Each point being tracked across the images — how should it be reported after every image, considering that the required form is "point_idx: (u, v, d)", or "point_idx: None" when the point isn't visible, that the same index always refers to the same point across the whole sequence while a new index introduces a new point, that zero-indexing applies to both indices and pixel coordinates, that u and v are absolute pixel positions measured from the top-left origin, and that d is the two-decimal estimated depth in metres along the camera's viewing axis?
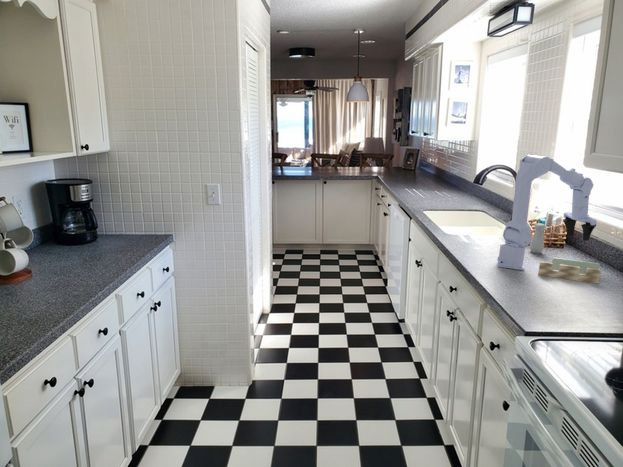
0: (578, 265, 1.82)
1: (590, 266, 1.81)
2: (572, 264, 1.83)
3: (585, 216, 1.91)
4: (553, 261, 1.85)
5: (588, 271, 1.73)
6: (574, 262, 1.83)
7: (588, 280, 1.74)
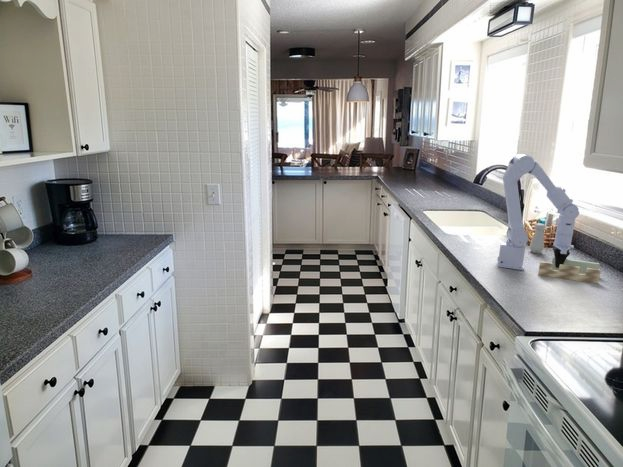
0: (578, 265, 1.82)
1: (590, 266, 1.81)
2: (572, 264, 1.83)
3: (563, 245, 1.81)
4: (553, 261, 1.85)
5: (588, 271, 1.73)
6: (574, 262, 1.83)
7: (588, 280, 1.74)
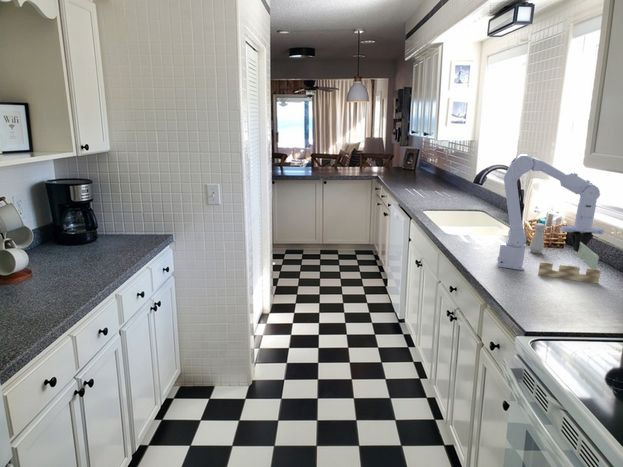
0: (585, 253, 1.73)
1: (590, 256, 1.69)
2: (583, 250, 1.75)
3: (575, 226, 1.77)
4: None
5: (588, 271, 1.73)
6: (584, 249, 1.74)
7: (588, 280, 1.74)
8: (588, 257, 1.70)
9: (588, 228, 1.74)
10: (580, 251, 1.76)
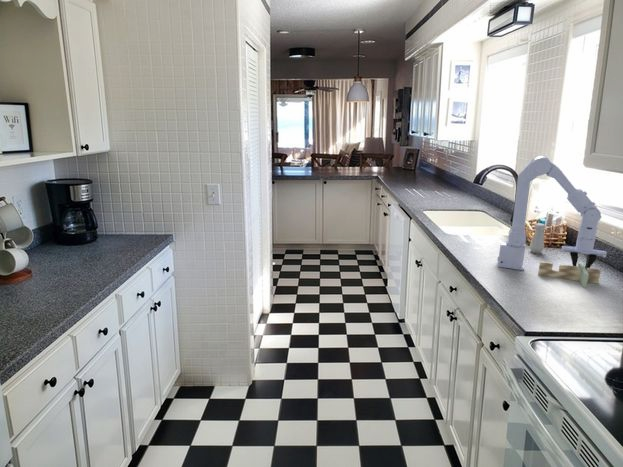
0: (581, 272, 1.74)
1: (583, 275, 1.70)
2: (580, 270, 1.76)
3: None
4: (578, 265, 1.82)
5: (588, 271, 1.73)
6: (581, 268, 1.75)
7: (588, 280, 1.74)
8: (582, 276, 1.72)
9: (587, 250, 1.75)
10: (579, 272, 1.77)
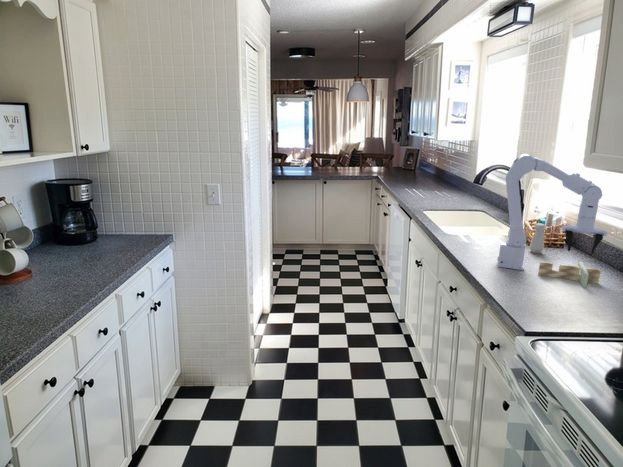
0: (581, 272, 1.74)
1: (583, 275, 1.70)
2: (580, 270, 1.76)
3: (576, 225, 1.78)
4: (578, 265, 1.82)
5: (588, 271, 1.73)
6: (581, 268, 1.75)
7: (588, 280, 1.74)
8: (582, 276, 1.72)
9: (588, 228, 1.74)
10: (579, 272, 1.77)
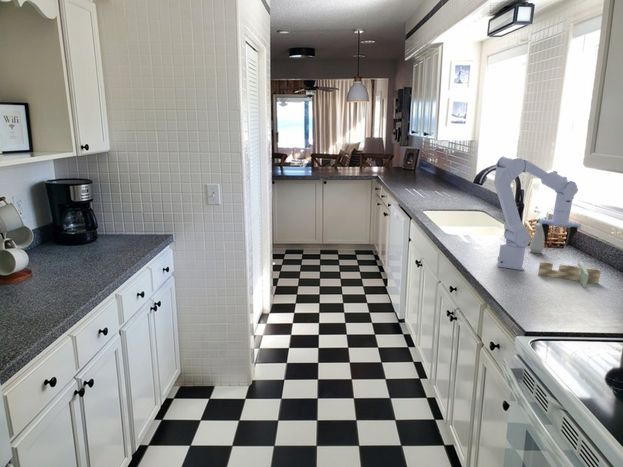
0: (581, 272, 1.74)
1: (583, 275, 1.70)
2: (580, 270, 1.76)
3: (552, 219, 1.87)
4: (578, 265, 1.82)
5: (588, 271, 1.73)
6: (581, 268, 1.75)
7: (588, 280, 1.74)
8: (582, 276, 1.72)
9: (563, 222, 1.84)
10: (579, 272, 1.77)
